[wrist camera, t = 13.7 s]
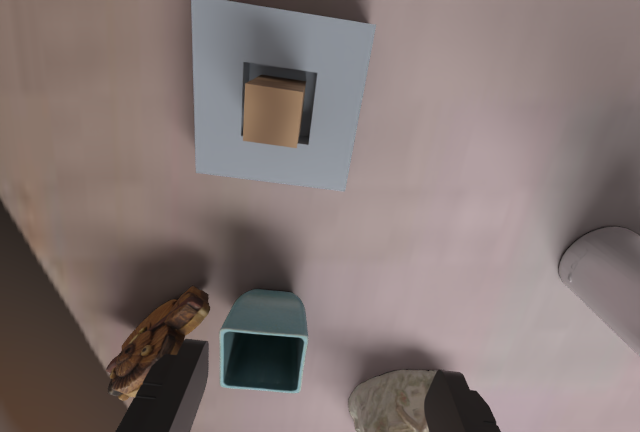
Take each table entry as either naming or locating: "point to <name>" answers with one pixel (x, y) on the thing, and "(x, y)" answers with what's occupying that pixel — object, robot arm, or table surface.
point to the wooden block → (273, 110)
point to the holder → (287, 62)
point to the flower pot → (264, 342)
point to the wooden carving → (155, 341)
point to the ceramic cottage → (391, 402)
